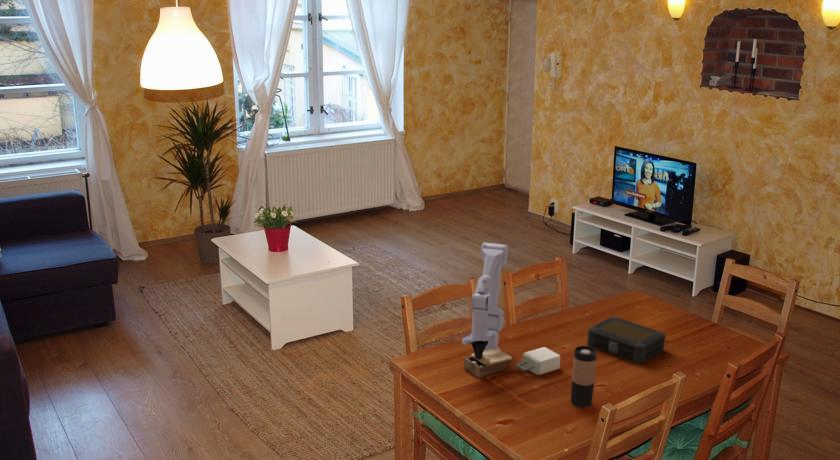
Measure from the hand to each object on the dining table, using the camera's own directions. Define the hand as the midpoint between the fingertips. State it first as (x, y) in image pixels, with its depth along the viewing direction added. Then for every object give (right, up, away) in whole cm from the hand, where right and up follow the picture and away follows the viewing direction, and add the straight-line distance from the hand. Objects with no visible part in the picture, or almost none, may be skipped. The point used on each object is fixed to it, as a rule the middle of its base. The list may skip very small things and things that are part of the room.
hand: (478, 358), depth 304 cm
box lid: (+5, 0, +4) cm, 6 cm away
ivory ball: (-1, -5, +3) cm, 6 cm away
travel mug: (+35, -13, -18) cm, 41 cm away
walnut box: (+3, -5, +3) cm, 7 cm away
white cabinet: (+24, -5, +5) cm, 25 cm away
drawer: (+21, -6, +3) cm, 22 cm away
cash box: (+61, 0, +26) cm, 66 cm away
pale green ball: (+1, -6, 0) cm, 6 cm away
